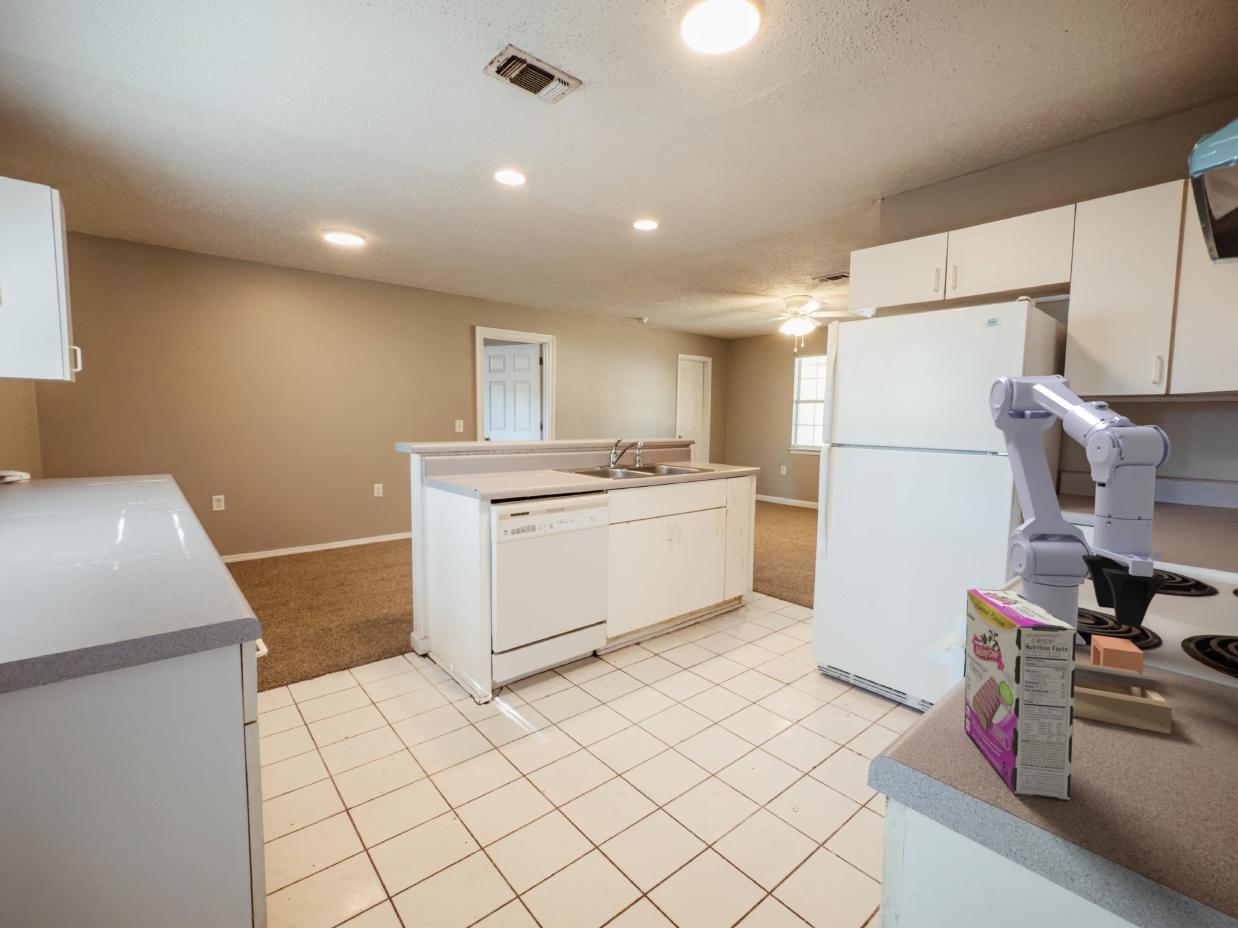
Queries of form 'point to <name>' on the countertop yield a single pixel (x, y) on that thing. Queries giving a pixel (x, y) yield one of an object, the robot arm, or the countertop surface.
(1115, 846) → the countertop surface
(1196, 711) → the countertop surface
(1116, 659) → the salmon notched block
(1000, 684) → the candy bar box
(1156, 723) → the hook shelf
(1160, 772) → the countertop surface
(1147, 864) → the countertop surface
